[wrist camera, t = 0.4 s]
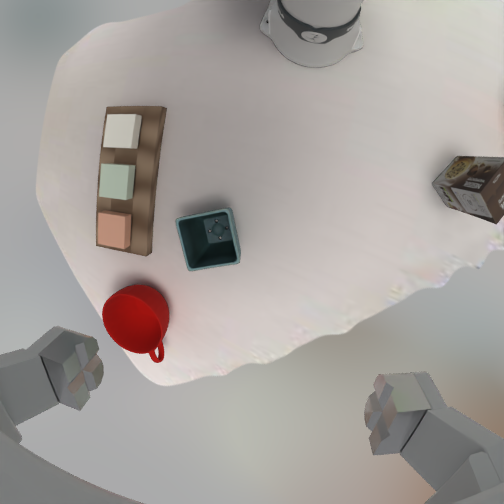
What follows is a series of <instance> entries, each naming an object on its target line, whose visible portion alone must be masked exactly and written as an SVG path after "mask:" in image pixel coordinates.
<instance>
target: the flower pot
mask: <svg viewBox="0 0 504 504" xmlns="http://www.w3.org/2000/svg"><path fill="white" fill-rule="evenodd" d="M215 220H218V222H215ZM176 226H177V230H178V234H179V238H180V242H181V245H182V249H183V253H184V257H185V261H186V265H187V268H188V270H189V271H196V270H202V269H207V268H214V267H220V266H226V265H235V264H238V263H240V255H241V250H240V245H239V240H238V236H237V231H236V227H235V222H234V217H233V212H232V209H231V208H224V209H219V210H214V211H209V212H204V213H199V214H194V215H189V216H185V217H181V218H177V219H176ZM226 227H228V229H226ZM209 230H211V232H209ZM219 237H222V239H219Z"/></svg>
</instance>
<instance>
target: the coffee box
mask: <svg viewBox="0 0 504 504" xmlns="http://www.w3.org/2000/svg"><path fill="white" fill-rule="evenodd" d="M432 185H433V186H434V188H435V189H436V191H437V192H438V194H439V195H440V197H441V198H442V200H443V201H444V203H445V204H446V206H447V207H449V208H452V209H455V210H458V211H461V212H464V213H467V214H470V215H473V216H475V217H478V218H481V219H484V220H486V221H489V222H492V223H494V224H497V223H498V222H499V221H500V219H501V218H502V217H503V215H504V158H503V157H474V156H457V157H456V158H455V159H454V160H453V161H452V163H451V164H450V165H449V166H448V167H447V168H446V169H445V170H444V171H443V173H442V174H441V175H440V176H439V177H438V178H437V179H436V180H435V181H434V182H433V183H432Z"/></svg>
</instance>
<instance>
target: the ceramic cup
mask: <svg viewBox="0 0 504 504" xmlns="http://www.w3.org/2000/svg"><path fill="white" fill-rule="evenodd" d="M102 317H103V322H104V326H105V328H106V330H107V332H108V334H109V335H110V337H112V339H113V340H114V341H115V342H116V343H117V344H118V345H119V346H121V347H123V348H124V349H126V350H128V351H130V352H134V353H139V354H144V353H149V355H150V357H151V359H152V360H153V361H154V362H156V363H159V362H161V361H162V360H163V359H164V346H163V343H162V339H163V337H164V335H165V333H166V331H167V328H168V324H169V309H168V306H167V303H166V301H165V299H164V298H163V296H162V295H161V294H160V293H159V292H158V291H157V290H155V289H153V288H151V287H149V286H145V285H132V286H128V287H125V288H123V289H121V290H119V291H118V292H116V293H115V294H113V295H112V296H111V297H110V298H109V299H108V300H107V301H106V303H105V304H104V307H103V311H102ZM157 347H158V351H159V355H158V358H157V356H156V354H155V349H156V348H157Z"/></svg>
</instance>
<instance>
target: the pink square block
mask: <svg viewBox="0 0 504 504" xmlns="http://www.w3.org/2000/svg"><path fill="white" fill-rule="evenodd" d="M131 229H132V215H131V214H126V213H119V212H112V211H106V210H105V211H102V212H99V213H98V244H101V245H106V246H111V247H116V248H121V249H125V248H127V247H129V246H130V239H131Z"/></svg>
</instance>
